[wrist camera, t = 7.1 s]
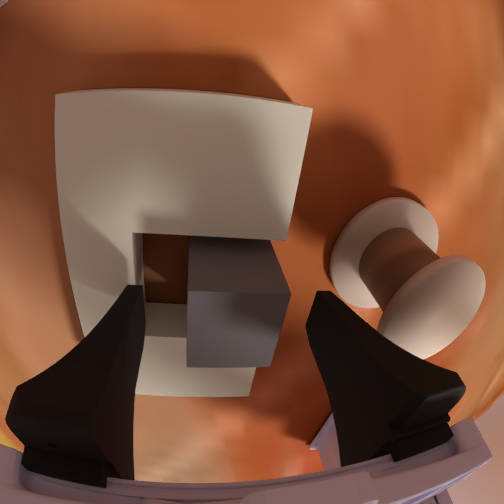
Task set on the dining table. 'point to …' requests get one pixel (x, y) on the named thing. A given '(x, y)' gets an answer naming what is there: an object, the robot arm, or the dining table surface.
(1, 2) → the small box
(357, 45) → the dining table surface
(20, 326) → the dining table surface
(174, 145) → the notch board
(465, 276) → the bobbin post
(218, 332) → the block
